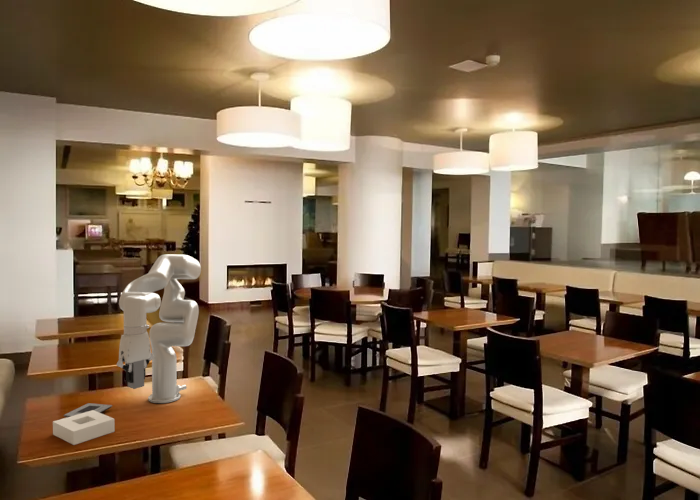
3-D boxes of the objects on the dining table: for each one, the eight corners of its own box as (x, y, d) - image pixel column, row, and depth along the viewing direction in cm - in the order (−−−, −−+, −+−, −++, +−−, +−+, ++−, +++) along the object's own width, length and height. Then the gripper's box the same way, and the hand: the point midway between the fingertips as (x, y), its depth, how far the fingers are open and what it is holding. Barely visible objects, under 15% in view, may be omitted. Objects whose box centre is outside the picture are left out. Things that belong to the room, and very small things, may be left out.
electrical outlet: (88, 423, 189) (88, 416, 189) (63, 420, 191) (63, 414, 191) (112, 410, 202) (112, 404, 201) (88, 408, 204) (88, 402, 204)
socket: (93, 422, 189) (93, 410, 188) (114, 431, 180) (114, 418, 180) (53, 434, 177) (52, 421, 177) (73, 445, 169) (73, 431, 169)
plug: (137, 383, 189) (137, 352, 189) (144, 386, 187) (143, 354, 186) (127, 386, 186) (127, 354, 185) (134, 389, 184) (133, 356, 183)
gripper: (150, 324, 194) (150, 373, 195) (107, 332, 181) (107, 384, 182) (162, 327, 190) (162, 376, 191) (119, 335, 176) (119, 388, 178)
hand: (135, 379), depth 186 cm, fingers closed on plug, 4 cm apart
